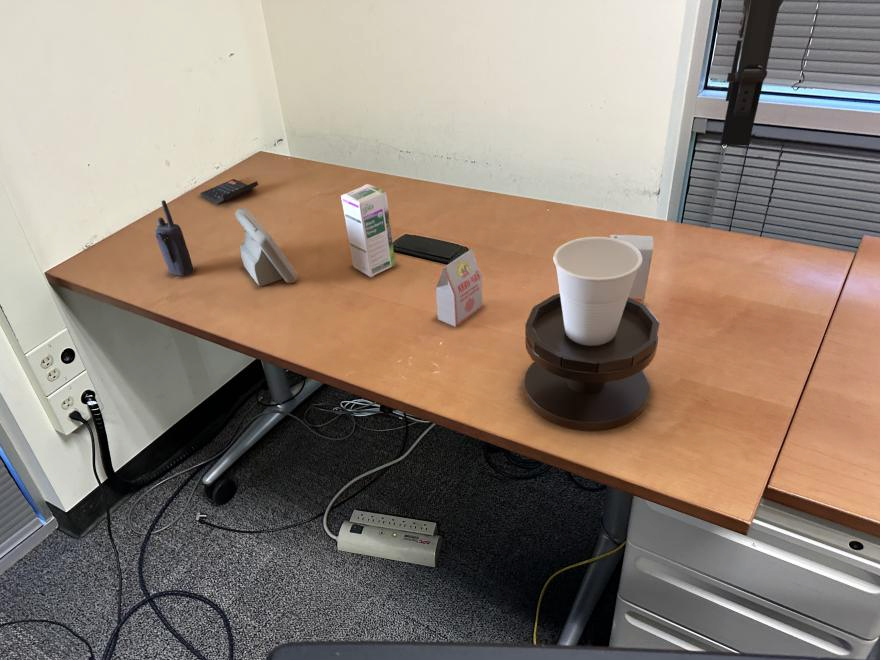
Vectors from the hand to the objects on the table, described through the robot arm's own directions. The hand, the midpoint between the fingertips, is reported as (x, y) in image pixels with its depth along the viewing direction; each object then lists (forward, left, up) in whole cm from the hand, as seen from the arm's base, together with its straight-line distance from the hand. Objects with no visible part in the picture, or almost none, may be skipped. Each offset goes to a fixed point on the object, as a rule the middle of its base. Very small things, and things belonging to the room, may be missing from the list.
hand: (736, 121), depth 77 cm
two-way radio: (+91, -2, -32) cm, 96 cm away
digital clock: (+73, -7, -32) cm, 80 cm away
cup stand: (+12, +13, -32) cm, 36 cm away
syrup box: (+54, -12, -32) cm, 64 cm away
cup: (+12, +13, -22) cm, 29 cm away
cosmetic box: (+10, -7, -32) cm, 34 cm away
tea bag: (+34, -1, -32) cm, 47 cm away
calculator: (+101, -36, -32) cm, 112 cm away
